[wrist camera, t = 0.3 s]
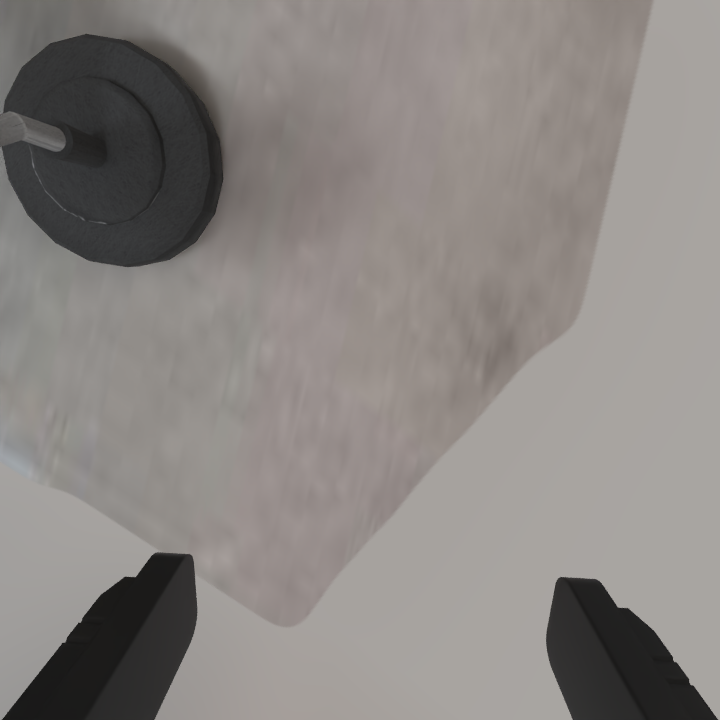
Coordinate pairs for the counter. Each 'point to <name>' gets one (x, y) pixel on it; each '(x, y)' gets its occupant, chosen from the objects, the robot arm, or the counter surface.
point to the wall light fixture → (111, 151)
